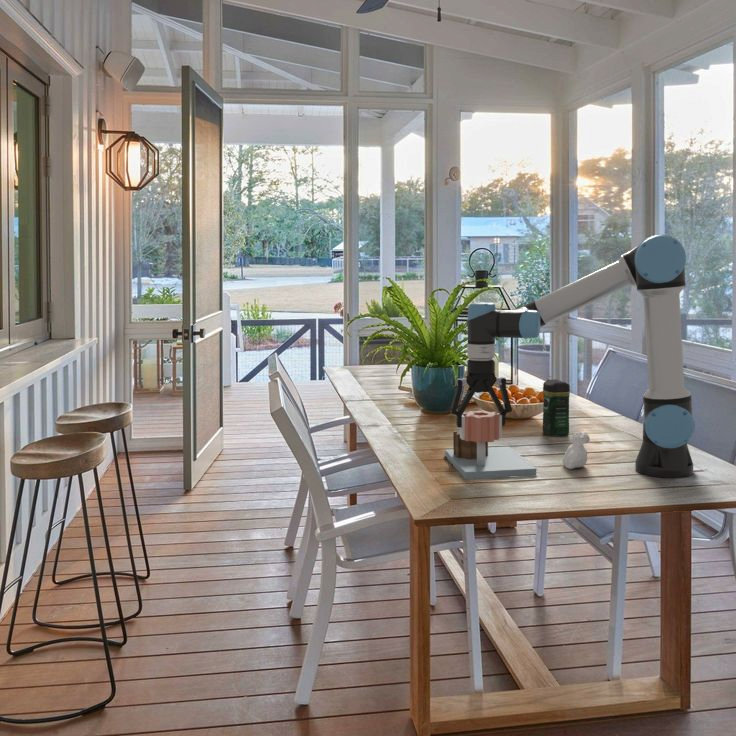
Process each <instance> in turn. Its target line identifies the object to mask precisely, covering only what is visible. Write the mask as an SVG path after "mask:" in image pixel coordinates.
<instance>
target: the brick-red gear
mask: <svg viewBox="0 0 736 736" xmlns="http://www.w3.org/2000/svg"><path fill="white" fill-rule="evenodd" d="M499 414H500V413H499ZM499 414H497V411H487V410H477V411H475V410H468V411H467V412H464V413H463V414H462V415H463V416H465V441H474V442H476V443H481V442H488V443H493V442H495V441H499V439H500V438H499Z"/></svg>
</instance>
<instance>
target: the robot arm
mask: <svg viewBox="0 0 736 736" xmlns="http://www.w3.org/2000/svg"><path fill="white" fill-rule="evenodd" d="M686 262H687V254H686V250H685V248H684V246H683V244H682V243H681V242H680V241H679V240H678V239H677V238H675V237H674V236H671V235H668V234H655V235H651V236H649V237H647V238H645V239H643V240H642V242H640V244H638V245H637V246H636V247H634V248H632V249H631V250H629V251H627V252H625V253H623V254H621V256H619V260H616V261H615V262H613V263H610V264H608V265H607V266H605V267H602V268H601V269H599V270H596V271H594V272H591V273H590V274H588V275H585V276H583V277H581V278H579V279H577V280H575V281H573V282H570V283H569V284H567V285H564V286H562V287H559V288H558V289H556V290H554V291H551V292H549V293H548V294H546V295H543V296H541V297H539V298H537V299H534V300H533V301H531V302H529V303H527V304H525V305H522V306H518V308H516V309H509V310H507V309H506V310H501V309H500V310H499V309H497V308H496V303H493V302H472V303H470V304H469V305H468V309H467V319H466V320H467V321H466V324H467V328H466V329H467V350H466V351H467V354H466V355H467V358H468V360H467V362H466V363H467V373H466V377H465V378H456V379H455V390H454V394H453V397H452V401H451V405H450V407H449V413H450V414H452V415H455V416H456V421H455V422H456V427H457V428H459V429H460V438H461V439H462V440H465V416H463V413H465V411H466V409H467V407H468V405H469V403H470V402H471V399H472V398H473V397H474V395H475V393H476V394H477V393H487V394H489V397H491V400H492V401H493V403H494V405H495V407H496V408H497V411H498V412H499V413H497V414H499V439H502V438H503V427H504V426H505V425H506V415H507V414H508V413H512V411H513V408H512V404H511V401H510V397H509V394H508V390H507V378H505V377H503V376H501V377H496V360H495V359H494V358H495V357H496V338H497V339H501V338H505V339H509V338H510V339H537V338H538V337H540V332H541V327H543V326H546V325H547V324H549V323H552V322H555V321H556V320H559V319H561V318H563V317H565V316H567V315H569V314H572V313H574V312H577V311H579V310H580V309H583V308H586V307H587V306H589V305H591V304H593V303H596V302H598V301H600V300H602V299H605V298H607V297H609V296H611V295H613V294H616V293H618V292H620V291H622V290H624V289H626V288H629V287H631V286H632V287H634V288H636V291H637V292H638V293H639V294H640V295H642V297H643V309H644V323H645V325H644V326H645V327H644V328H645V343H646V345H645V346H646V359H647V375H648V389H645V390H644V393H643V395H642V396H643V398H642V401H643V417H642V418H643V419H642V421H643V422H642V443H641V444H640V445H641V446H640V448H639V450H638V454H637V456H636V459H635V465H634V466H635V468H634V469H635V470H636V471H637V472H638V473H641V474H644V475H647V476H652V477H658V478H671V479H672V478H685V477H688V476H689V477H690V476H691V475H693V474H694V463H693V460H692V459H693V458H692V456H691V453H690V450H689V446H688V442H689V441H690V440H691V439H692V437H693V434H694V432H695V429H696V428H695V427H696V425H695V420H694V417H693V404H692V403H693V402H692V392H691V391H689V390H688V389H687V388H686V387H685V377H684V376H685V375H684V374H685V373H684V356H683V355H684V353H683V339H682V338H683V336H682V334H683V333H682V316H681V298H680V294H681V292H682V291H683V290H684V289H685V288H686V271H685V270H686V268H685V267H686ZM465 384H467V385H468V389H467V390H466V394H465V395H464V397H463V399H462V401H461V402H460V399H461V395H462V392H463V387H465ZM495 384H497V385H498V386H499V391H500V395H501V397H502V401H503V404H502V403H501V401H500V399H499V398H498V395H497V394H496V391H495V390H494V388H493V386H494V385H495ZM459 403H460V404H459ZM458 405H459V406H458ZM503 405H504V406H503Z"/></svg>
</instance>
